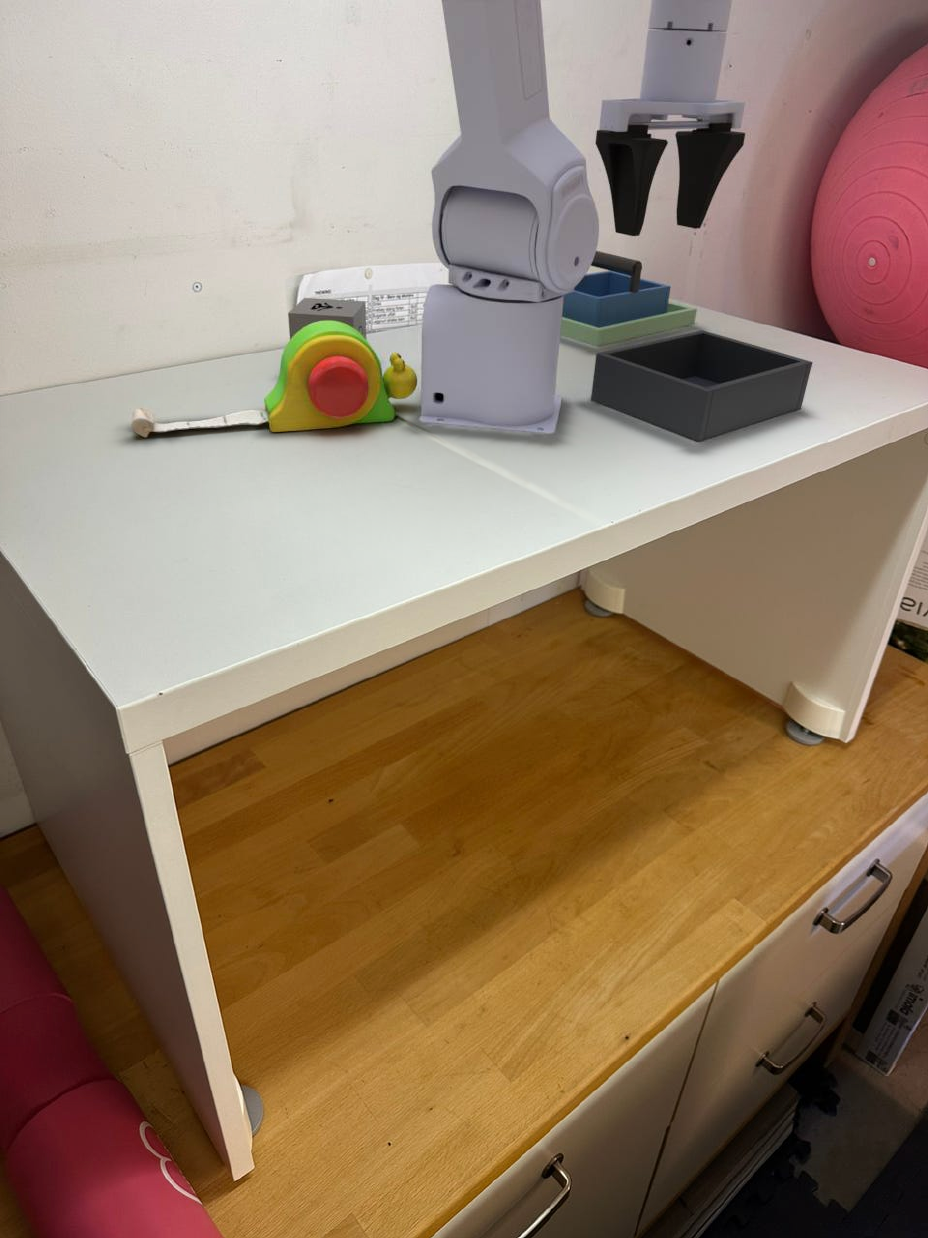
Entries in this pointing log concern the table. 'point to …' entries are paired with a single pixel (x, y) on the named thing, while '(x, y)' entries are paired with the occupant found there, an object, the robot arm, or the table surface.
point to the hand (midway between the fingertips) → (658, 230)
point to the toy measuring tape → (317, 386)
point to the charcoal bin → (700, 383)
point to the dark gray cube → (328, 314)
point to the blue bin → (615, 294)
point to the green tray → (629, 326)
